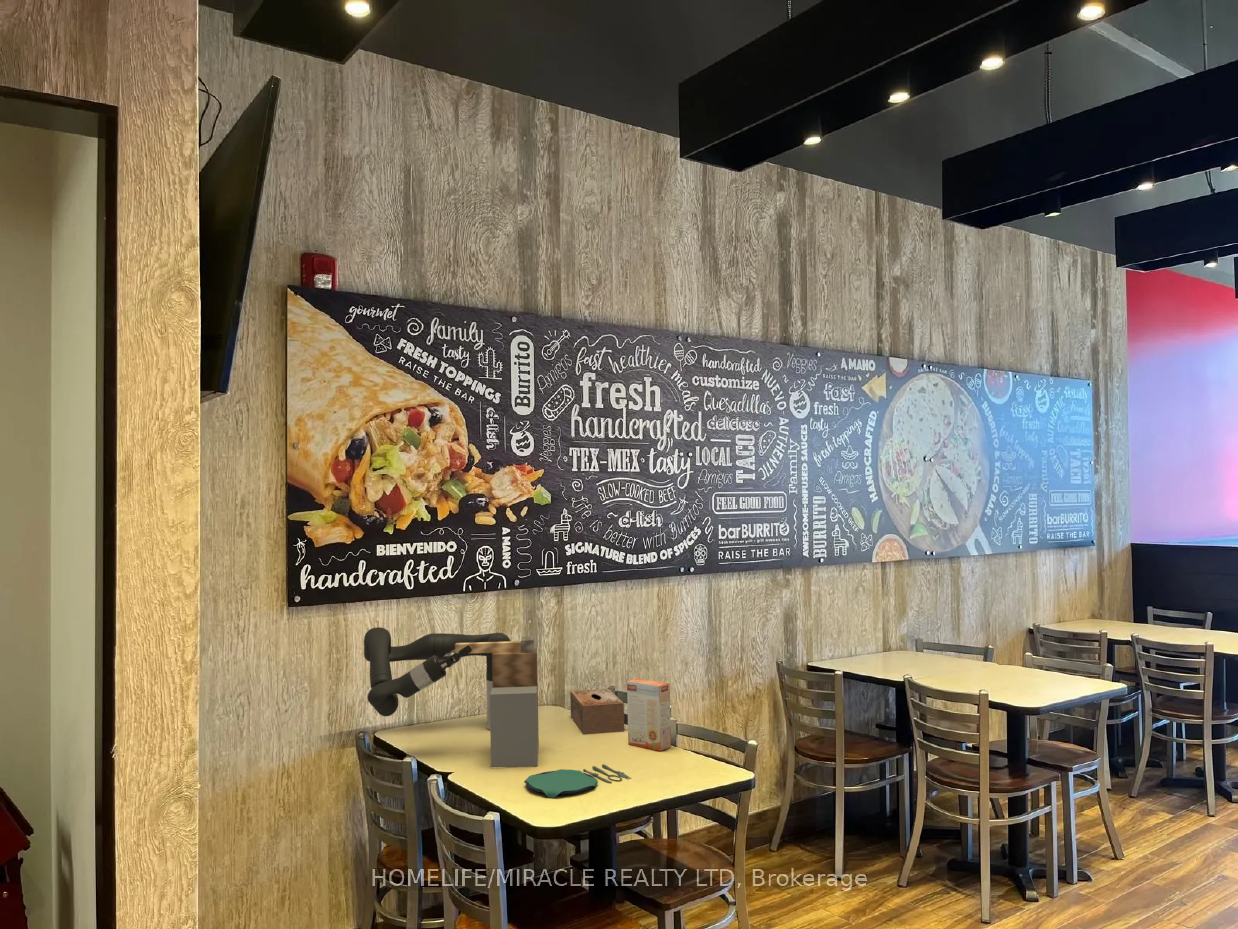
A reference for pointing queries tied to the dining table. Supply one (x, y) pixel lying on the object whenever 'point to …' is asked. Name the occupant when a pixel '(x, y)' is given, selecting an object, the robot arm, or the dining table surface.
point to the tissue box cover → (597, 711)
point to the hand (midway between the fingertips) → (471, 645)
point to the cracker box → (649, 714)
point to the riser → (515, 671)
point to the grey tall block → (514, 727)
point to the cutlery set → (568, 781)
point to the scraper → (500, 646)
